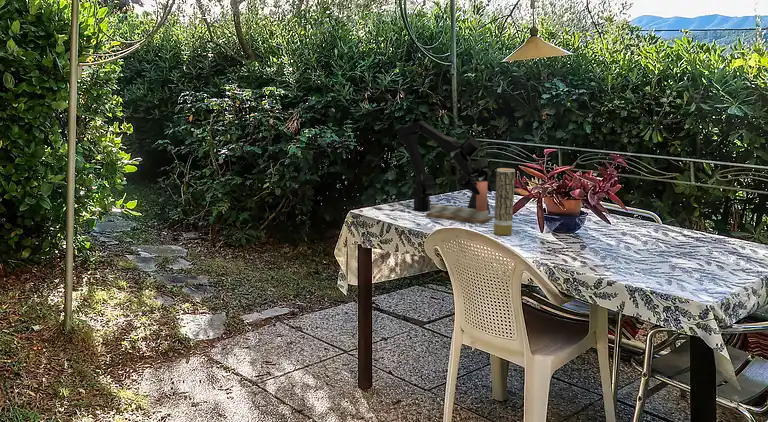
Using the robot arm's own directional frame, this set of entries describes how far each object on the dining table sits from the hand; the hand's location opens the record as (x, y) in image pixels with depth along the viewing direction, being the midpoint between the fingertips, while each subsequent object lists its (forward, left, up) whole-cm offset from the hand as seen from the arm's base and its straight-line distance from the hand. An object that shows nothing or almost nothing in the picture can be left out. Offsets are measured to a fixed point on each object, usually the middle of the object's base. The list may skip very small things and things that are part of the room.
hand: (485, 193), depth 270 cm
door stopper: (-8, +16, -12) cm, 22 cm away
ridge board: (-11, 0, -12) cm, 17 cm away
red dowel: (-1, 0, -7) cm, 8 cm away
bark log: (+14, -17, -12) cm, 25 cm away
